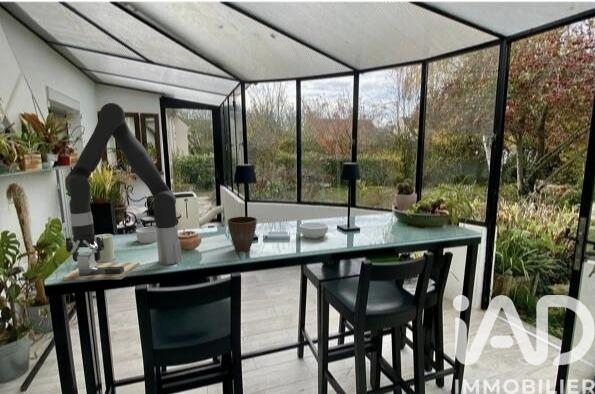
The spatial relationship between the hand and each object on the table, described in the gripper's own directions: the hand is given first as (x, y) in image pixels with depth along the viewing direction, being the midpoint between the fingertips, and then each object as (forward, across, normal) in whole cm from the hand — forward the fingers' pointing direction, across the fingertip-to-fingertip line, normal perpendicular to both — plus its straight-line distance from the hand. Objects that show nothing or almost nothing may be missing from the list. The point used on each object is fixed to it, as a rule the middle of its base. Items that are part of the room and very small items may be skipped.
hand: (87, 260), depth 136 cm
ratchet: (+6, -5, 0) cm, 8 cm away
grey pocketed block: (+3, 0, 0) cm, 3 cm away
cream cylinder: (+7, +5, -20) cm, 22 cm away
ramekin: (+7, -3, -51) cm, 52 cm away
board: (+7, -4, -4) cm, 9 cm away
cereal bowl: (+8, -98, -54) cm, 112 cm away
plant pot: (+7, -60, -33) cm, 69 cm away
